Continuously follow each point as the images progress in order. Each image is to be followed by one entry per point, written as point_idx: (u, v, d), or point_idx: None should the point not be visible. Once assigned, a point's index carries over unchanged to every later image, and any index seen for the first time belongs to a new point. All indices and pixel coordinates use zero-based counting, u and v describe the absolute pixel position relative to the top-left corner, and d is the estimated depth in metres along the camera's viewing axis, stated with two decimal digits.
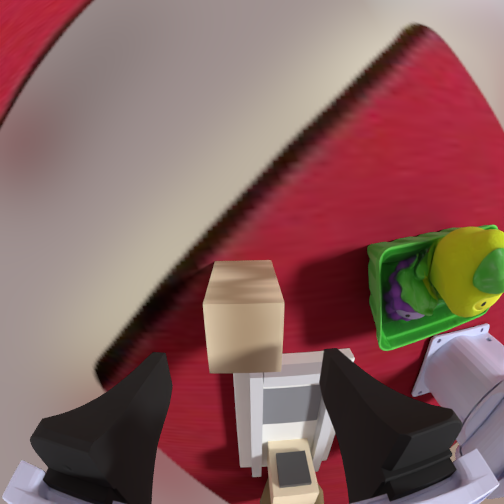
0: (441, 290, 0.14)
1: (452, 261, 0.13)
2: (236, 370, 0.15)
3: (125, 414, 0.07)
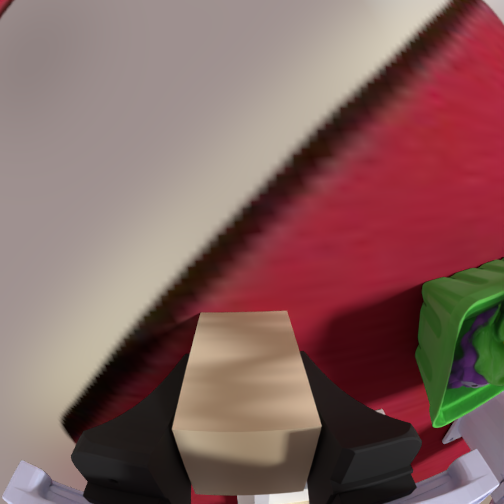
0: None
1: None
2: (235, 493, 0.08)
3: (172, 420, 0.07)
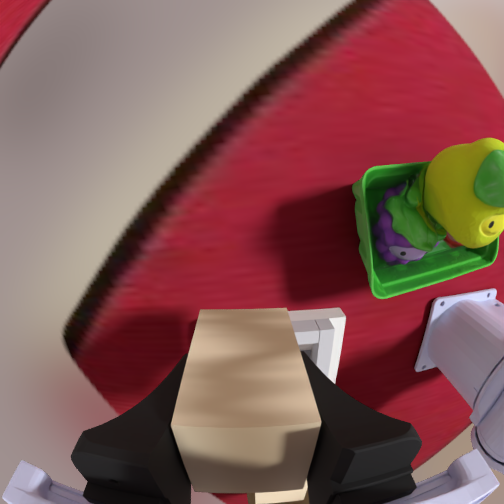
0: (439, 212, 0.12)
1: (446, 172, 0.11)
2: (234, 491, 0.08)
3: None
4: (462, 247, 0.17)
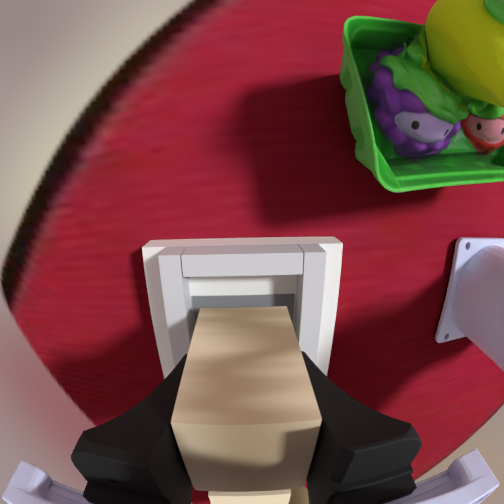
0: (452, 53, 0.06)
1: (447, 3, 0.05)
2: (234, 489, 0.08)
3: None
4: (487, 158, 0.11)
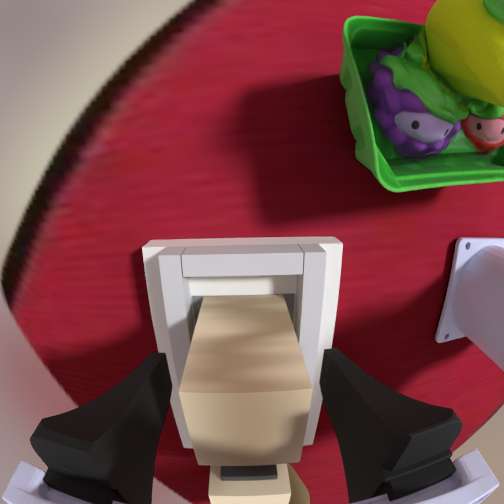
0: (452, 53, 0.06)
1: (447, 3, 0.05)
2: (235, 463, 0.09)
3: (125, 414, 0.07)
4: (487, 158, 0.11)
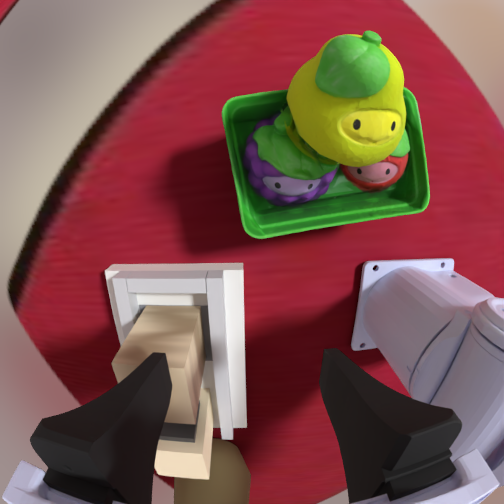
0: (297, 126, 0.11)
1: (294, 79, 0.10)
2: None
3: (125, 414, 0.07)
4: (383, 193, 0.17)
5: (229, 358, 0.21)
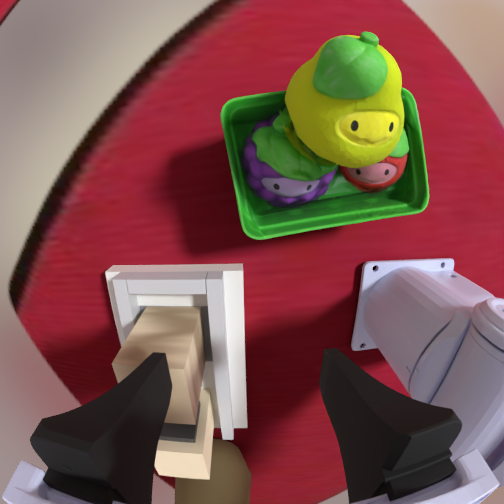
0: None
1: (292, 81, 0.10)
2: None
3: (125, 414, 0.07)
4: (382, 194, 0.17)
5: (229, 358, 0.21)
